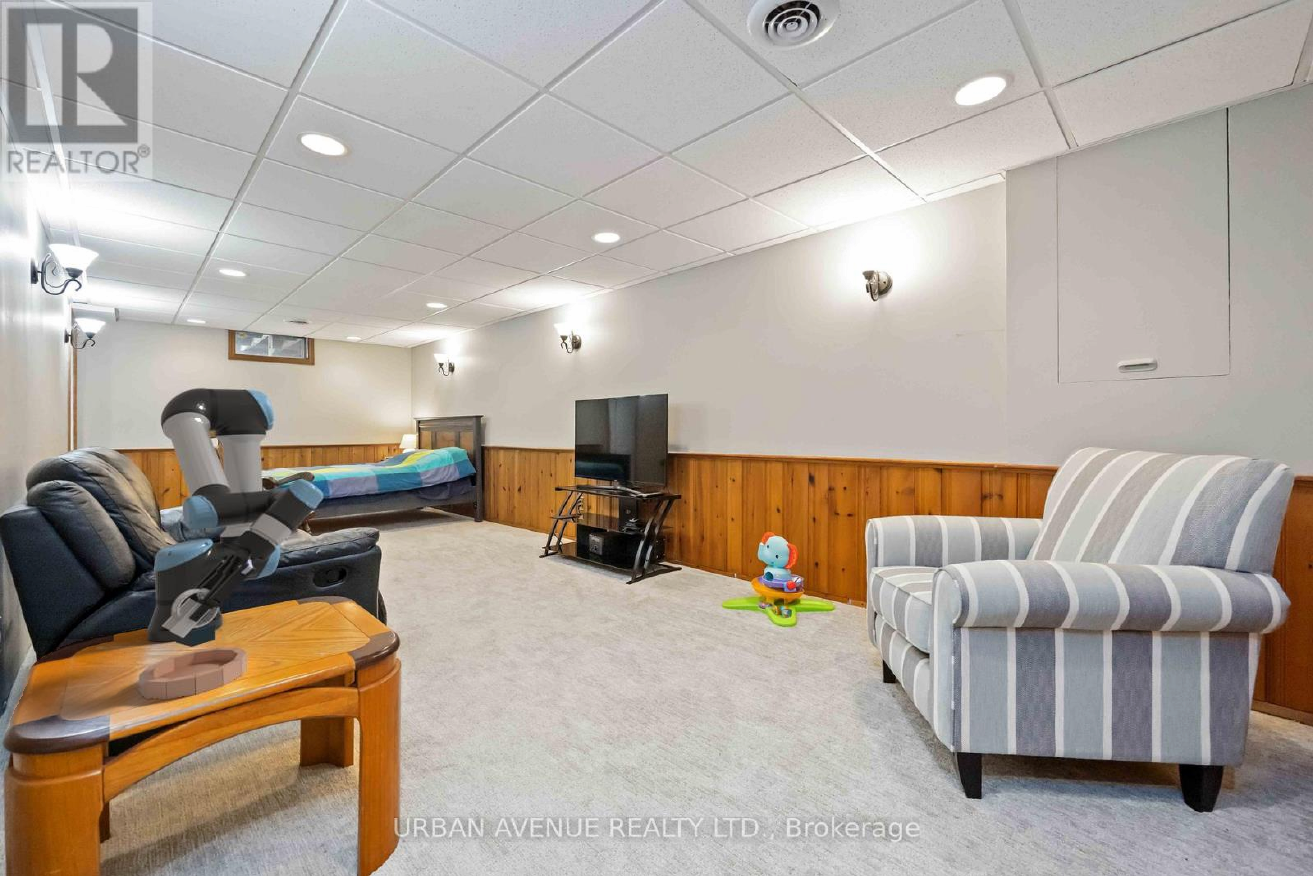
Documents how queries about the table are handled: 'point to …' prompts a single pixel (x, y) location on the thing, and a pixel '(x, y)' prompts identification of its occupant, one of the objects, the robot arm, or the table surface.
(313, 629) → the table surface
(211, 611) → the watch
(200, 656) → the dish
